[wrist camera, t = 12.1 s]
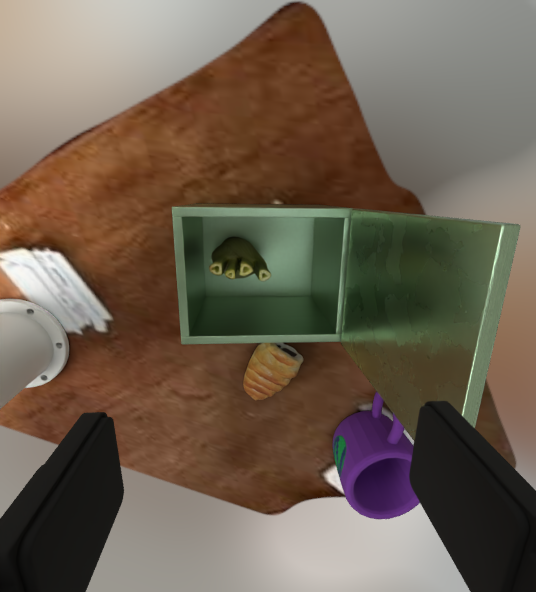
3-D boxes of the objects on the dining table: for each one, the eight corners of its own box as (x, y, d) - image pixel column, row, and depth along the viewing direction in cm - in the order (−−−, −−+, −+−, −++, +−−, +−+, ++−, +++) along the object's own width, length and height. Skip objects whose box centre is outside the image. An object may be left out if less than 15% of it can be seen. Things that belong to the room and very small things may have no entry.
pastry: (269, 401, 50) (271, 417, 46) (231, 380, 48) (229, 395, 45) (305, 352, 48) (310, 365, 44) (266, 329, 46) (267, 340, 43)
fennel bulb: (267, 253, 42) (278, 270, 31) (245, 283, 43) (248, 312, 32) (229, 226, 41) (226, 234, 30) (207, 258, 42) (196, 278, 30)
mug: (388, 465, 55) (418, 523, 45) (321, 462, 54) (338, 519, 44) (415, 372, 50) (455, 414, 40) (342, 366, 49) (365, 407, 39)
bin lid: (447, 486, 16) (462, 485, 16) (503, 224, 13) (522, 224, 13) (340, 343, 32) (348, 343, 32) (351, 208, 28) (360, 208, 28)
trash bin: (200, 300, 44) (181, 344, 31) (195, 203, 41) (171, 206, 28) (315, 299, 45) (343, 341, 32) (320, 204, 42) (354, 208, 29)
